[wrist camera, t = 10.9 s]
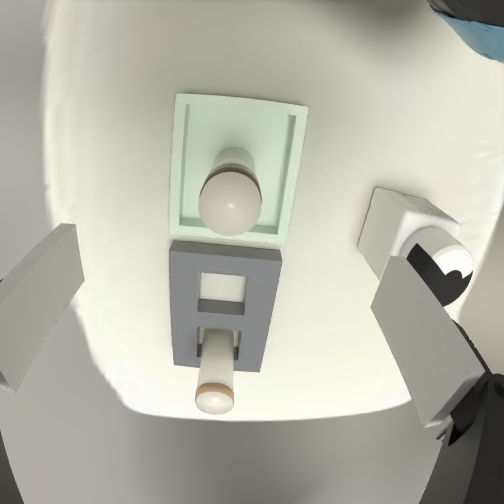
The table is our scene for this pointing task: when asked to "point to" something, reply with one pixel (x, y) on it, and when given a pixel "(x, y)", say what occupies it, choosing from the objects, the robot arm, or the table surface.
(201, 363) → the cylinder
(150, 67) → the table surface
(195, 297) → the fuse block
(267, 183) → the parts tray
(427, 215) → the container
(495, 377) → the robot arm
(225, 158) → the fuse
